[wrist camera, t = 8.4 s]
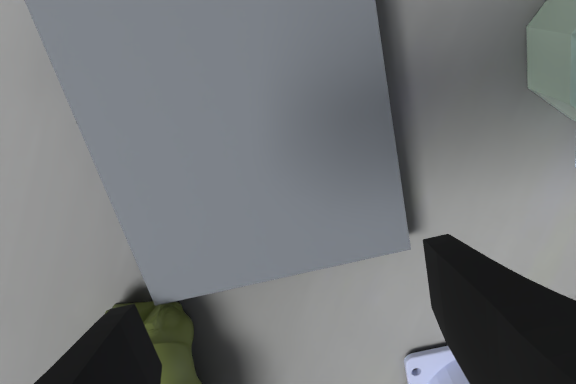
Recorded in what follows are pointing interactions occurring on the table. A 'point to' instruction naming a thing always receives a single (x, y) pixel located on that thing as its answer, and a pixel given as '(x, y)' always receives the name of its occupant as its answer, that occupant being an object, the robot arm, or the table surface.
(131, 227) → the mat
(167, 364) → the pear
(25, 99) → the table surface
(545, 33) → the bowl
